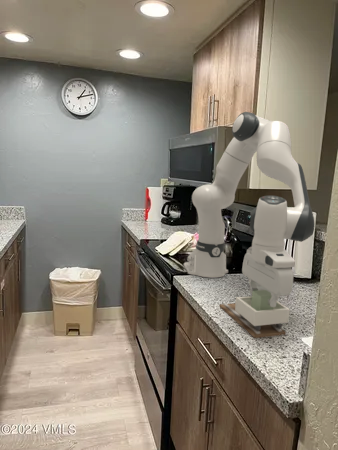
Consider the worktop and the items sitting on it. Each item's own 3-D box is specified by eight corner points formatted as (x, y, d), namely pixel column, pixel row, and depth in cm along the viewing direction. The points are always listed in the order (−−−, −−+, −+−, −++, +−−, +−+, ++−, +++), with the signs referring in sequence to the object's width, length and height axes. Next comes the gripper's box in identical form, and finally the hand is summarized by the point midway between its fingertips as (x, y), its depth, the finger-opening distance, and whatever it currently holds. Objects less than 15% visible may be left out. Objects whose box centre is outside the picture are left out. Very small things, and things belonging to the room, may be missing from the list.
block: (250, 310, 103) (252, 290, 102) (263, 309, 104) (265, 290, 103) (259, 316, 99) (261, 296, 98) (272, 315, 100) (274, 295, 99)
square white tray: (234, 316, 105) (236, 297, 104) (265, 313, 109) (267, 295, 108) (253, 332, 95) (255, 312, 94) (287, 329, 99) (289, 309, 98)
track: (219, 306, 116) (219, 302, 116) (245, 304, 119) (246, 300, 119) (254, 338, 96) (255, 333, 95) (285, 334, 99) (286, 330, 98)
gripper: (239, 245, 107) (235, 288, 110) (279, 263, 88) (273, 315, 90) (257, 245, 109) (252, 286, 112) (299, 262, 90) (293, 313, 92)
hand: (262, 299), depth 101 cm, fingers open, 8 cm apart
